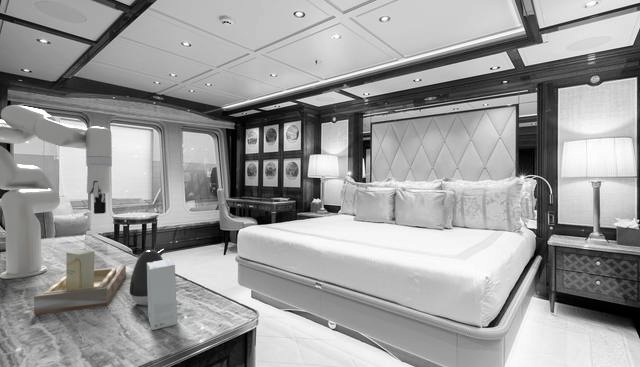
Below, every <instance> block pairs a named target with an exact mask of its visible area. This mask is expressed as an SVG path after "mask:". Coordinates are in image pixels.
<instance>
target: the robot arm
mask: <svg viewBox="0 0 640 367" xmlns="http://www.w3.org/2000/svg"><path fill="white" fill-rule="evenodd" d="M0 117H1V119H0V143H4V144H5V143H7V144H17V145H18V144H23V143H24V144H25V143H27V142H29V141H30V140H32V139H35V138H36V137H37V138H38V139H39V140H41V141H43V142H46V143H50V144H52V145H54V146H55V145H56V146H58V147H63V148H75V149H84V150H85V156H86V157H85V161H86V162H85V164H86V167H88V168H87V177H86V178H87V179H86V193H87V194H88V195H92V194H93V214H96V215H99V214H100V215H101V214H106V212H107V211H106V209H107V208H106V207H107V206H106V205H107V204H106V195H107V194H108V193H109V192H110V168H112V166H113V158H112V157H113V154H112V153H113V150H112V148H113V147H112V146H113V144H112V142H113V141H112V137H113V136H112V130H110V129H109V128H107V127H100V126H90V127H86V128H85V127H80V126H74V125H70V124H69V125H68V124H64V123H60V122H58V121H57V120H56V118H55V117H54V116H52V115H50V114H49V113H48V112H46V111H45V110H43V109H38V108H34V107H29V106H24V105H20V104H18V105H17V104H12V105H8V106H5V107H3V108H2V110H1V112H0ZM0 190H4V191H7V192H4V194H3V195H2V197H1V199H0V206H1V211H2V213H3V218H4V226H5V228H4V229H5V231H4V232H5V266H6V267H5V271H3V272H1V273H0V278H1V279H4V280H5V279H7V280H11V279H23V278H28V277H33V276H37V275H40V274H43V273H45V272H46V271H48V267H47V266H45V265H42V262H43V257H42V228H41V222H40V220H39V218H37V216H36V215H35V214H41V213H47V212H52V211H55V210H56V209H57V208H58V207H59V206H60V203H61V198H60V197H61V196H60V194H59V193H58V191H57V189H56V187H55V186H54V184H53V182H52V180H50V178H49V176H48V175H47V173H46V172H45V171H44V170H43V169H42V168H41V167H39V166H35V165H31V164H30V165H29V164H26V165H25V164H19V163H17V161H16V160H15V159H14V158H13V155H12V154H11V153H10V151H8V149H6V148H5V147H3V146H1V145H0Z"/></svg>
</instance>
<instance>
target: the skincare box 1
mask: <svg viewBox="0 0 640 367" xmlns="http://www.w3.org/2000/svg"><path fill="white" fill-rule="evenodd" d="M65 267H66V271H65V272H66V274H65V275H66V290H70V289H79V288H88V287H94V270H95V251H94V250H89V249H88V250H87V249H82V248H81V249H77V250H76V249H75V250H70V251H67V252H66V266H65Z"/></svg>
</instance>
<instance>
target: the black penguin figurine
mask: <svg viewBox="0 0 640 367" xmlns="http://www.w3.org/2000/svg"><path fill="white" fill-rule="evenodd" d="M165 252H166V249H165V248H162V249H160V250H159V251H157V250H154V249H148V250H147V249H146V250H144V251H143V252H142V253H141V254H140V255H139V256H138V258H137V259H136V262H135V264H134V267H133V271H132V274H131V277H130V284H129V295H130V296H131V299H132V301H134V303H135V304H138V305H140V306H147V307H148V289H147V263H148V262H154V261H160V260H164V259H163V257H162V255H163V254H164V253H165Z"/></svg>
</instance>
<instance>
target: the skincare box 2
mask: <svg viewBox="0 0 640 367" xmlns="http://www.w3.org/2000/svg"><path fill="white" fill-rule="evenodd" d="M176 283H177V282H176V265H175V263H174V262H173V260H172V259H170V258H167V259H163V260H160V261H154V262H148V263H147V289H148V305H147V309H148V310H147V311H148V313H147V316H148V323H149V325H150V327H151V328H150V329H151V331H154V330H158V329H163V328H169V327H173V326H177V325H178V308H177V307H178V306H177V284H176Z"/></svg>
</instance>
